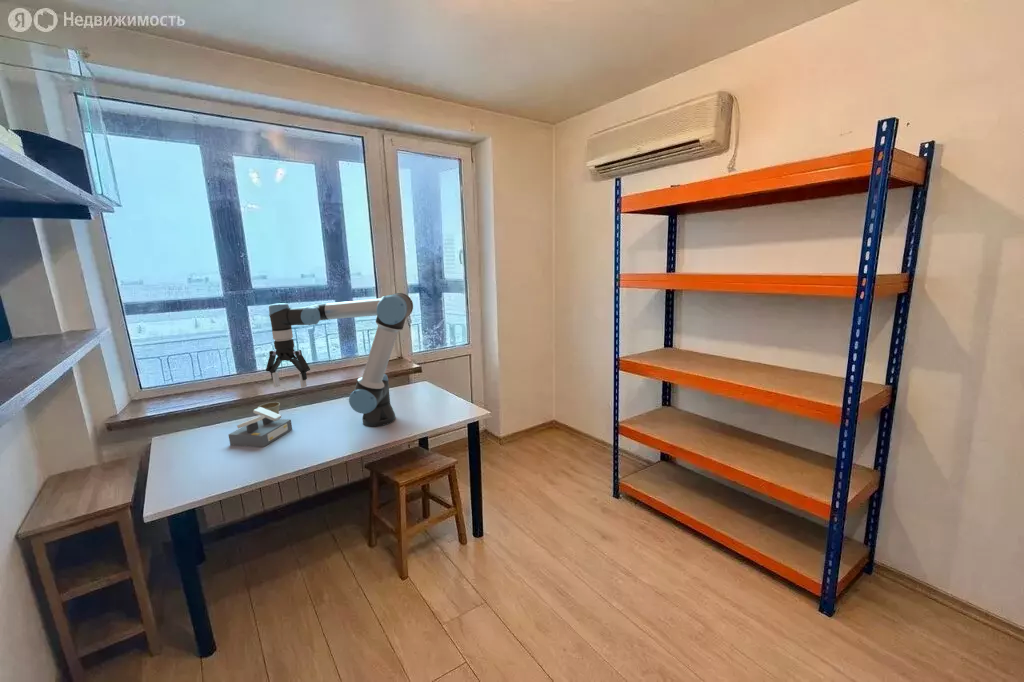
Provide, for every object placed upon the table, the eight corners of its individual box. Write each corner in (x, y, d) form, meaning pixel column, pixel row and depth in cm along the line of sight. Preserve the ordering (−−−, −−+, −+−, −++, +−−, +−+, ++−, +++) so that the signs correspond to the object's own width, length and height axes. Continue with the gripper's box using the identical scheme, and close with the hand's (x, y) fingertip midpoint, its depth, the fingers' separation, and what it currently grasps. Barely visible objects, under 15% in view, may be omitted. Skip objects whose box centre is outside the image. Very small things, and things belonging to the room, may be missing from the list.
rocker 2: (281, 417, 188) (281, 415, 187) (274, 421, 184) (275, 418, 183) (259, 409, 188) (260, 406, 188) (253, 412, 185) (253, 409, 184)
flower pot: (256, 424, 199) (253, 407, 197) (274, 417, 207) (272, 400, 205) (267, 427, 195) (265, 410, 193) (286, 420, 203) (284, 403, 201)
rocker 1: (265, 417, 178) (263, 414, 178) (258, 421, 174) (256, 418, 174) (245, 424, 181) (244, 422, 180) (238, 428, 177) (236, 425, 177)
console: (293, 429, 191) (290, 413, 189) (264, 447, 173) (261, 429, 172) (261, 428, 193) (259, 411, 192) (230, 445, 176) (227, 427, 174)
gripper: (314, 337, 179) (321, 384, 183) (264, 337, 183) (272, 383, 187) (303, 341, 171) (310, 390, 176) (251, 341, 175) (259, 388, 180)
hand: (290, 386), depth 181 cm, fingers open, 12 cm apart
